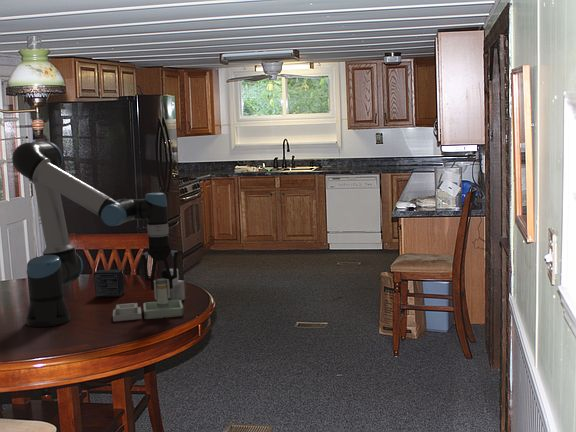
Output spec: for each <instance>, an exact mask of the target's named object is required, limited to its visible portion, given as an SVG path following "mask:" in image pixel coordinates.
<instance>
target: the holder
mask: <svg viewBox="0 0 576 432" xmlns="http://www.w3.org/2000/svg"><path fill="white" fill-rule="evenodd" d="M142 319H143V318H142V307H141V306H138V302H132V303H120V304H119V303H117V304H116V305H115V308H114V309H113V310H112V321H113V322H123V321H134V320H142Z"/></svg>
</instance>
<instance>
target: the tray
mask: <svg viewBox="0 0 576 432" xmlns="http://www.w3.org/2000/svg"><path fill="white" fill-rule="evenodd" d="M168 303H169V306H168V307H164V308H158V307H157V301H149V302H143V305H142V306H143V316H144V320H152V319H153V320H154V319H164V317H165V318H172V317H173V318H175V317H184V316H185V311H184V305H183V302H182V301H181V300H170V301H168Z"/></svg>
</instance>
